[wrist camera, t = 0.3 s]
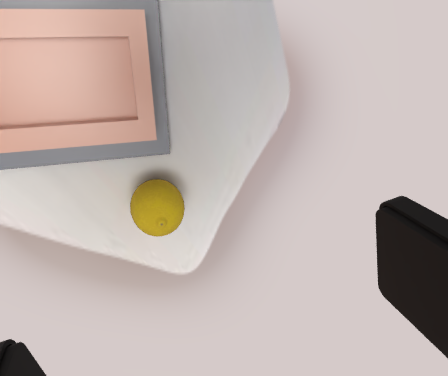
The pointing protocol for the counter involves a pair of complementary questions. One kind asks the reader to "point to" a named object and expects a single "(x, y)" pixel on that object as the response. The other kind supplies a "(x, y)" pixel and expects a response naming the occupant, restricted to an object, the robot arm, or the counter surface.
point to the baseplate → (80, 82)
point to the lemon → (157, 207)
